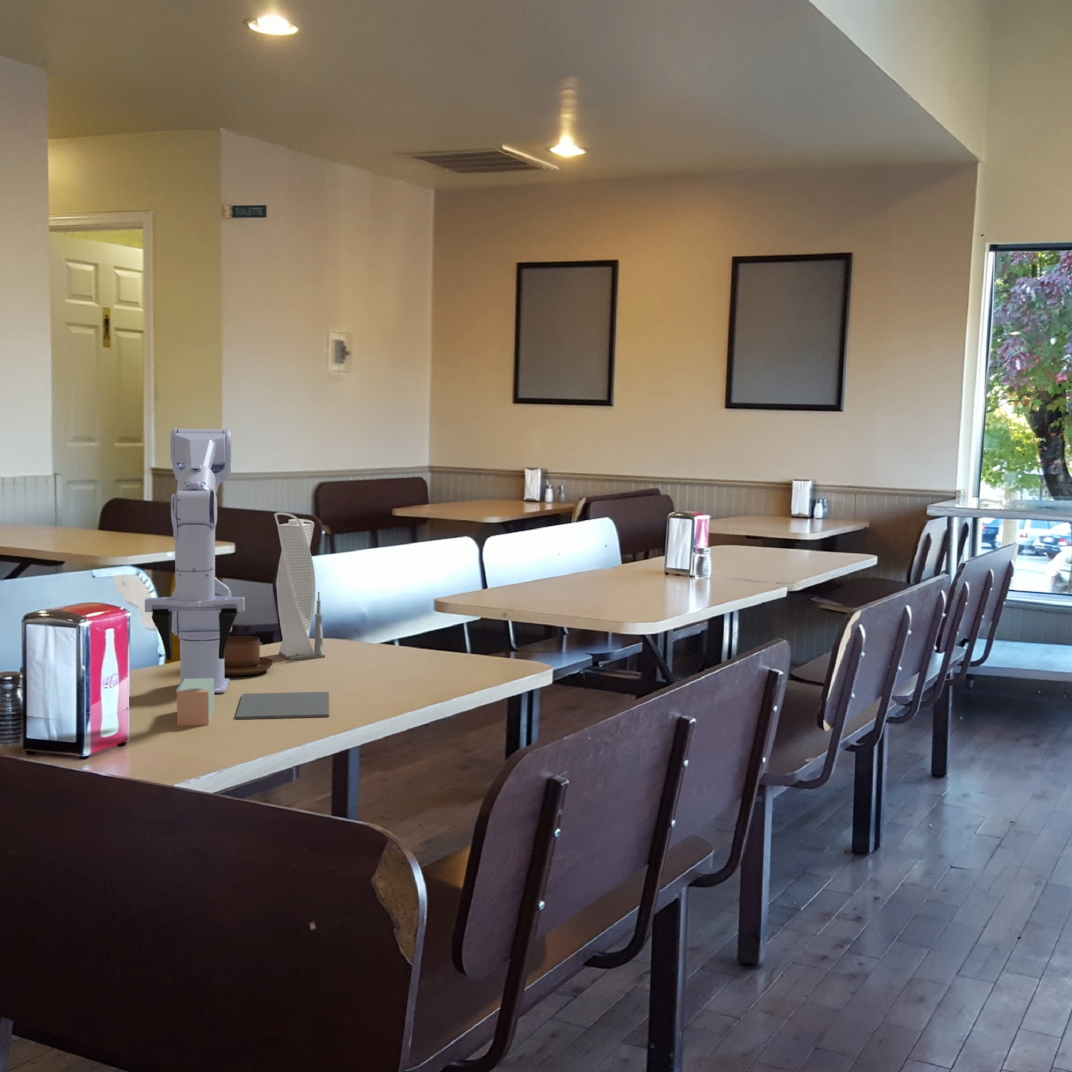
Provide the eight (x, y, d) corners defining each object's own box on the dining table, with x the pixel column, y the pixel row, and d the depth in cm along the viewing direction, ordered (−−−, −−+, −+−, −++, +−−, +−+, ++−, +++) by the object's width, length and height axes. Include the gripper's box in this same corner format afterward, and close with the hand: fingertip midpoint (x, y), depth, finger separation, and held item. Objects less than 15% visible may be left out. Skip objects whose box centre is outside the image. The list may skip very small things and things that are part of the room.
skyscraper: (282, 660, 232) (281, 513, 229) (269, 653, 239) (269, 510, 236) (324, 657, 236) (324, 512, 233) (311, 650, 243) (311, 509, 240)
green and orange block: (184, 710, 192) (184, 678, 191) (214, 709, 192) (214, 678, 192) (177, 725, 182) (176, 692, 181) (208, 725, 182) (208, 692, 182)
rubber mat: (242, 695, 202) (242, 693, 202) (328, 694, 204) (328, 691, 204) (235, 719, 186) (235, 716, 186) (328, 716, 188) (328, 714, 188)
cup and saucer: (191, 677, 217) (191, 642, 216) (226, 664, 228) (226, 632, 228) (252, 681, 214) (252, 647, 213) (284, 668, 225) (284, 635, 225)
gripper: (141, 573, 180) (142, 664, 181) (242, 572, 182) (242, 662, 183) (148, 567, 187) (149, 655, 188) (245, 566, 189) (245, 653, 190)
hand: (195, 658), depth 186 cm, fingers open, 7 cm apart
